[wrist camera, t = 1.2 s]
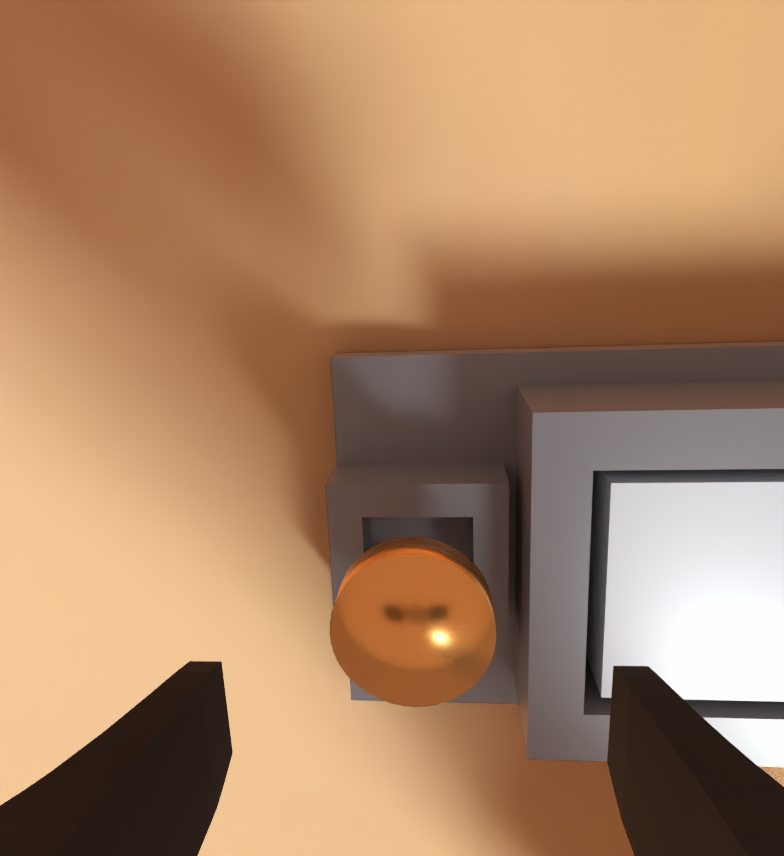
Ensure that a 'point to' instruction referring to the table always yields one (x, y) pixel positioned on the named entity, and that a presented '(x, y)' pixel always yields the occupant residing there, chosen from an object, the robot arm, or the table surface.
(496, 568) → the housing
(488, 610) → the plunger
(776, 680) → the cartridge
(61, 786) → the robot arm
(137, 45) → the table surface
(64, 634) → the table surface
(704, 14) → the table surface
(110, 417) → the table surface
